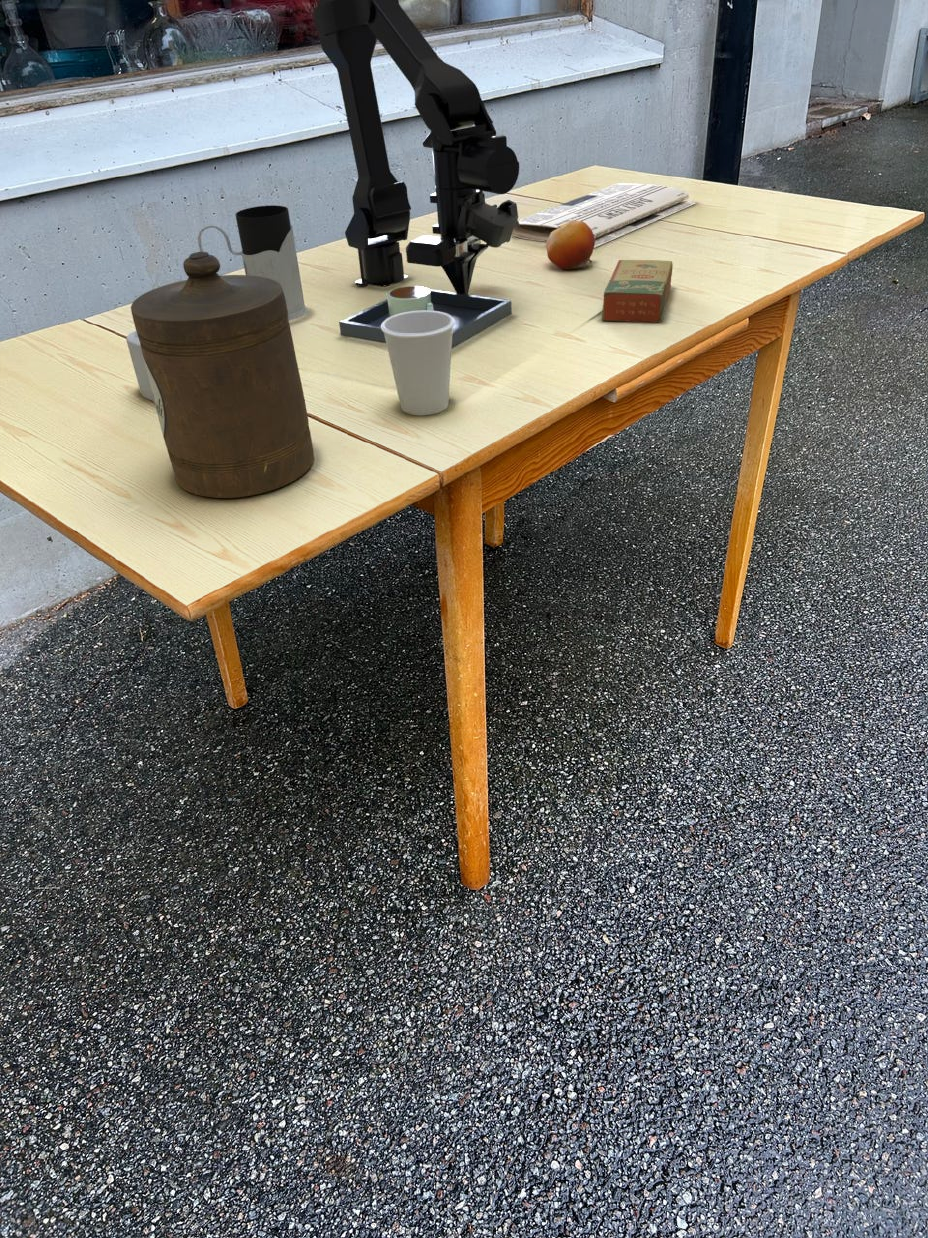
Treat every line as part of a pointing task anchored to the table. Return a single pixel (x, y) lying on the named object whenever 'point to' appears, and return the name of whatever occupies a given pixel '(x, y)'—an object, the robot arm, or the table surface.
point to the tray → (464, 308)
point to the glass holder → (269, 251)
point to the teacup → (409, 299)
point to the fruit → (571, 245)
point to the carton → (637, 291)
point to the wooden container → (225, 381)
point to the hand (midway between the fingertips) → (463, 297)
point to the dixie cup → (420, 359)
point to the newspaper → (607, 211)
